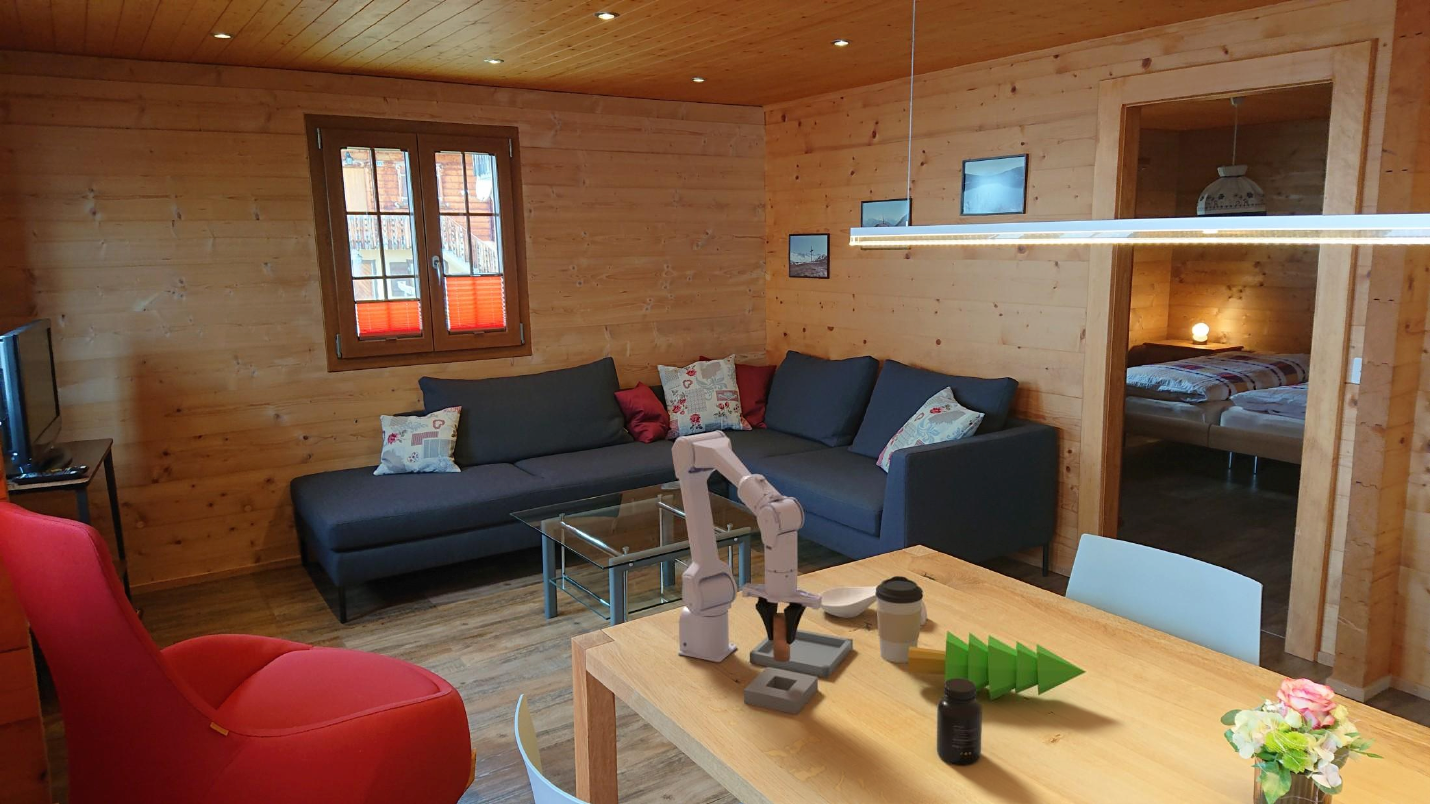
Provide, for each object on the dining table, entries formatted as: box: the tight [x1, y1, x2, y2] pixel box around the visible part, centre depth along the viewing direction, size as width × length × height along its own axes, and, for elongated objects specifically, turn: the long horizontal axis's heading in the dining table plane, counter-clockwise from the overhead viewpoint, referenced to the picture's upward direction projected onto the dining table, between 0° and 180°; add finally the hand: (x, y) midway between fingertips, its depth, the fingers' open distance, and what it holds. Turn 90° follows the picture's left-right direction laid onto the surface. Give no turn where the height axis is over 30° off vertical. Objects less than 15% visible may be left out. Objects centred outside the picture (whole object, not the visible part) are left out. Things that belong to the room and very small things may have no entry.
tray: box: [749, 628, 854, 679], centre depth 186 cm, size 16×14×2 cm
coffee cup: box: [875, 575, 924, 664], centre depth 185 cm, size 9×9×15 cm
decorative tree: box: [907, 630, 1087, 701], centre depth 168 cm, size 11×12×30 cm
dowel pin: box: [773, 612, 790, 662], centre depth 169 cm, size 3×3×8 cm
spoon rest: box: [818, 585, 928, 626], centre depth 205 cm, size 24×12×7 cm, turn 69°
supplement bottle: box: [936, 678, 983, 767], centre depth 149 cm, size 7×7×12 cm
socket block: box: [743, 666, 819, 716], centre depth 170 cm, size 10×10×2 cm
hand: (781, 640), depth 169 cm, fingers closed on dowel pin, 3 cm apart
